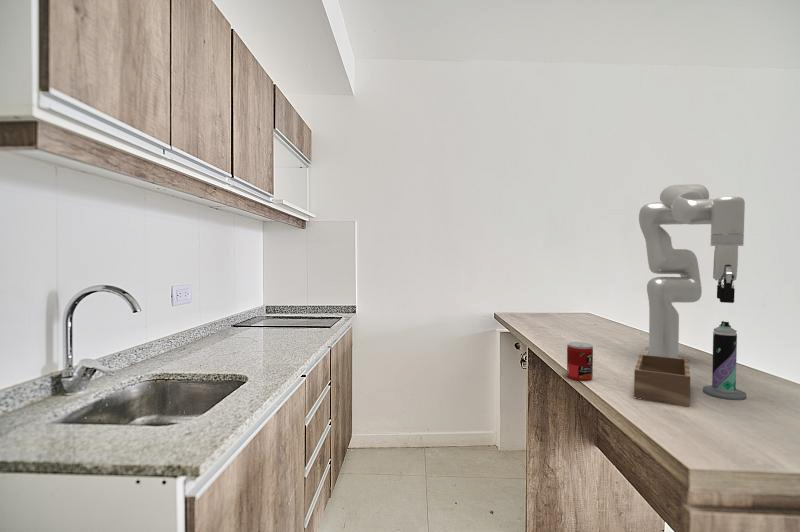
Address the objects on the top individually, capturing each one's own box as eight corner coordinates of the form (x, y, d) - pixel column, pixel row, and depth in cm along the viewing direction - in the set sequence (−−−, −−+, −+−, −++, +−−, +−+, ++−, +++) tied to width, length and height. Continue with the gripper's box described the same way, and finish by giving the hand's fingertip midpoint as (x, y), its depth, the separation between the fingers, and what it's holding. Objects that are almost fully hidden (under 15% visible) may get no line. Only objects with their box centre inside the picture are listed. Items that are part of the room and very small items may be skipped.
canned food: (581, 382, 137) (582, 347, 137) (561, 376, 144) (561, 343, 144) (598, 379, 141) (598, 345, 140) (577, 373, 148) (578, 340, 148)
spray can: (713, 391, 124) (715, 322, 124) (710, 386, 129) (712, 319, 129) (737, 394, 122) (739, 323, 121) (733, 389, 127) (735, 320, 126)
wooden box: (639, 378, 141) (639, 354, 141) (687, 385, 134) (688, 359, 134) (634, 398, 122) (634, 369, 122) (689, 406, 115) (690, 376, 115)
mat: (694, 389, 130) (694, 385, 130) (726, 388, 131) (726, 385, 131) (722, 400, 120) (722, 397, 120) (755, 399, 121) (755, 395, 121)
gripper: (708, 241, 133) (707, 296, 134) (712, 240, 119) (711, 303, 120) (739, 240, 129) (737, 298, 130) (747, 240, 115) (745, 305, 116)
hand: (725, 300), depth 125 cm, fingers open, 9 cm apart
